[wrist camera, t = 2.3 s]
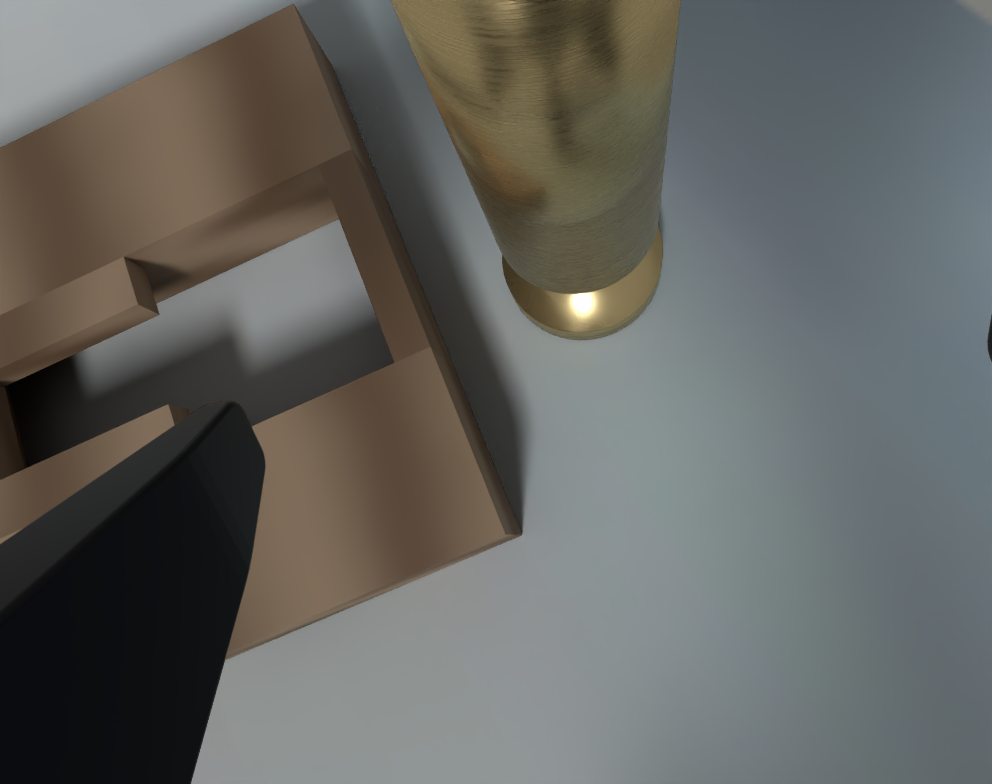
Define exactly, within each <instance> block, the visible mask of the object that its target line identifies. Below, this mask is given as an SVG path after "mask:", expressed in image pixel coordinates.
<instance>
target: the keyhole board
mask: <svg viewBox="0 0 992 784" xmlns="http://www.w3.org/2000/svg"><path fill="white" fill-rule="evenodd" d="M337 219H339V220H340V223H341V225H342V228H343V230H344V233H345V236H346V238H347V241H348V243H349V246H350V249H351V251H352V254H353V256H354V259H355V262H356V264H357V267H358V269H359V272H360V275H361V277H362V280H363V282H364V285H365V288H366V290H367V293H368V295H369V298H370V301H371V303H372V306H373V308H374V311H375V314H376V316H377V319H378V321H379V324H380V327H381V329H382V332H383V334H384V337H385V340H386V342H387V345H388V347H389V350H390V353H391V355H392V358H393V360H394V363H393V364H390V365H388V366H386V367H384V368H381V369H379V370H377V371H375V372H372V373H370V374H368V375H366V376H363V377H361V378H359V379H357V380H355V381H352V382H350V383H348V384H346V385H343V386H341V387H339V388H337V389H334V390H332V391H330V392H328V393H325V394H323V395H321V396H319V397H316V398H314V399H312V400H310V401H307V402H305V403H303V404H301V405H298V406H296V407H294V408H292V409H290V410H287V411H285V412H283V413H281V414H278V415H276V416H274V417H272V418H269V419H267V420H265V421H263V422H260V423H258V424H256V425H254V426H252V428H253V431H254V433H255V435H256V437H257V439H258V441H259V443H260V445H261V447H262V450H263V452H264V456H265V464H266V468H265V476H264V483H263V489H262V496H261V502H260V509H259V515H258V522H257V528H256V535H255V541H254V548H253V554H252V559H251V564H250V570H249V574H248V578H247V582H246V586H245V590H244V593H243V597H242V600H241V604H240V608H239V611H238V615H237V618H236V622H235V626H234V629H233V633H232V637H231V640H230V644H229V647H228V651H227V655H226V658H225V660H226V659H229V658H231V657H234V656H236V655H238V654H241V653H243V652H245V651H248V650H250V649H253V648H255V647H257V646H260V645H262V644H264V643H267V642H269V641H272V640H274V639H276V638H279V637H281V636H283V635H286V634H288V633H291V632H293V631H295V630H298V629H300V628H302V627H305V626H307V625H310V624H312V623H314V622H317V621H319V620H322V619H324V618H326V617H329V616H331V615H333V614H336V613H338V612H341V611H343V610H345V609H348V608H350V607H352V606H355V605H357V604H360V603H362V602H364V601H367V600H369V599H371V598H374V597H376V596H379V595H381V594H383V593H386V592H388V591H390V590H393V589H395V588H398V587H400V586H402V585H405V584H407V583H409V582H412V581H414V580H417V579H419V578H421V577H424V576H426V575H428V574H431V573H433V572H436V571H438V570H440V569H443V568H445V567H448V566H450V565H452V564H455V563H457V562H459V561H462V560H464V559H467V558H469V557H471V556H474V555H476V554H478V553H481V552H483V551H486V550H488V549H490V548H493V547H495V546H497V545H500V544H502V543H505V542H507V541H509V540H512V539H514V538H516V537H519V536H521V535H522V533H521V531H520V528H519V526H518V523H517V521H516V518H515V516H514V513H513V511H512V509H511V506H510V504H509V501H508V499H507V496H506V494H505V491H504V489H503V486H502V484H501V481H500V479H499V476H498V474H497V471H496V469H495V467H494V464H493V462H492V459H491V457H490V454H489V452H488V449H487V447H486V444H485V442H484V439H483V437H482V434H481V432H480V429H479V427H478V425H477V422H476V420H475V417H474V415H473V412H472V410H471V407H470V405H469V402H468V400H467V397H466V395H465V392H464V390H463V387H462V385H461V383H460V380H459V378H458V375H457V373H456V370H455V368H454V365H453V363H452V360H451V358H450V355H449V353H448V350H447V348H446V345H445V343H444V341H443V338H442V336H441V333H440V331H439V328H438V326H437V323H436V321H435V318H434V316H433V313H432V311H431V308H430V306H429V303H428V301H427V299H426V296H425V294H424V291H423V289H422V286H421V284H420V281H419V279H418V276H417V274H416V271H415V269H414V266H413V264H412V261H411V259H410V257H409V254H408V252H407V249H406V247H405V244H404V242H403V239H402V237H401V234H400V232H399V229H398V227H397V224H396V222H395V219H394V217H393V215H392V212H391V210H390V207H389V205H388V202H387V200H386V197H385V195H384V192H383V190H382V187H381V185H380V182H379V180H378V177H377V175H376V173H375V170H374V168H373V165H372V163H371V160H370V158H369V155H368V153H367V150H366V148H365V145H364V143H363V140H362V138H361V135H360V133H359V131H358V128H357V126H356V123H355V121H354V118H353V116H352V113H351V111H350V108H349V106H348V103H347V101H346V98H345V96H344V93H343V91H342V89H341V86H340V84H339V81H338V79H337V76H336V74H335V71H334V69H333V66H332V65H331V63H330V61H329V60H328V58H327V57H326V55H325V53H324V52H323V50H322V49H321V47H320V45H319V44H318V42H317V41H316V39H315V37H314V36H313V34H312V33H311V31H310V29H309V28H308V26H307V25H306V23H305V21H304V20H303V18H302V17H301V15H300V13H299V12H298V10H297V9H296V7H295V5H294V4H292V5H290V6H288V7H286V8H284V9H282V10H280V11H278V12H276V13H274V14H272V15H270V16H268V17H266V18H264V19H262V20H259V21H257V22H255V23H253V24H251V25H249V26H247V27H245V28H243V29H241V30H239V31H237V32H235V33H233V34H231V35H229V36H227V37H225V38H223V39H221V40H219V41H217V42H215V43H213V44H211V45H209V46H207V47H205V48H203V49H201V50H199V51H196V52H194V53H192V54H190V55H188V56H186V57H184V58H182V59H180V60H178V61H176V62H174V63H172V64H170V65H168V66H166V67H164V68H162V69H160V70H158V71H156V72H154V73H152V74H150V75H148V76H146V77H144V78H142V79H140V80H138V81H136V82H134V83H131V84H129V85H127V86H125V87H123V88H121V89H119V90H117V91H115V92H113V93H111V94H109V95H107V96H105V97H103V98H101V99H99V100H97V101H95V102H93V103H91V104H89V105H87V106H85V107H83V108H81V109H79V110H77V111H75V112H73V113H71V114H68V115H66V116H64V117H62V118H60V119H58V120H56V121H54V122H52V123H50V124H48V125H46V126H44V127H42V128H40V129H38V130H36V131H34V132H32V133H30V134H28V135H26V136H24V137H22V138H20V139H18V140H16V141H14V142H12V143H10V144H8V145H6V146H3V147H1V148H0V544H1V543H2V542H4V541H5V540H7V539H8V538H10V537H11V536H13V535H14V534H16V533H17V532H19V531H20V530H22V529H23V528H24V527H26V526H27V525H29V524H30V523H32V522H33V521H35V520H36V519H38V518H39V517H41V516H42V515H44V514H45V513H46V512H48V511H49V510H51V509H52V508H54V507H55V506H57V505H58V504H60V503H61V502H63V501H64V500H66V499H67V498H68V497H70V496H71V495H73V494H74V493H76V492H77V491H79V490H80V489H82V488H83V487H85V486H86V485H88V484H89V483H90V482H92V481H93V480H95V479H96V478H98V477H99V476H101V475H102V474H104V473H105V472H107V471H108V470H110V469H111V468H112V467H114V466H115V465H117V464H118V463H120V462H121V461H123V460H124V459H126V458H127V457H129V456H130V455H132V454H133V453H134V452H136V451H137V450H139V449H140V448H142V447H143V446H145V445H146V444H148V443H149V442H151V441H152V440H154V439H155V438H156V437H158V436H159V435H161V434H162V433H164V432H165V431H167V430H168V429H170V428H171V427H173V426H174V425H176V424H177V423H178V422H180V421H181V420H183V419H184V418H186V417H187V416H189V415H190V412H189V410H187V409H183V408H180V407H177V406H173V405H170V404H167V405H165V406H163V407H160V408H158V409H156V410H154V411H152V412H149V413H147V414H145V415H143V416H141V417H138V418H136V419H134V420H132V421H130V422H127V423H125V424H123V425H121V426H119V427H116V428H114V429H112V430H110V431H108V432H105V433H103V434H101V435H99V436H96V437H94V438H92V439H90V440H88V441H85V442H83V443H81V444H79V445H77V446H74V447H72V448H70V449H68V450H66V451H63V452H61V453H59V454H57V455H55V456H52V457H50V458H48V459H46V460H43V461H41V462H39V463H37V464H35V465H32V466H30V467H28V464H27V460H26V456H25V452H24V449H23V445H22V441H21V437H20V433H19V429H18V425H17V421H16V417H15V413H14V409H13V405H12V401H11V397H10V393H9V389H8V385H9V384H11V383H13V382H15V381H17V380H20V379H22V378H24V377H26V376H28V375H30V374H33V373H35V372H37V371H39V370H41V369H43V368H45V367H48V366H50V365H52V364H54V363H56V362H58V361H61V360H63V359H65V358H67V357H69V356H71V355H74V354H76V353H78V352H80V351H82V350H84V349H86V348H89V347H91V346H93V345H95V344H97V343H99V342H102V341H104V340H106V339H108V338H110V337H112V336H114V335H117V334H119V333H121V332H123V331H125V330H127V329H130V328H132V327H134V326H136V325H138V324H140V323H143V322H145V321H147V320H149V319H151V318H153V317H155V316H158V315H159V312H158V308H157V305H156V303H158V302H161V301H163V300H165V299H167V298H169V297H171V296H174V295H176V294H178V293H180V292H182V291H184V290H186V289H189V288H191V287H193V286H195V285H197V284H199V283H201V282H204V281H206V280H208V279H210V278H212V277H214V276H217V275H219V274H221V273H223V272H225V271H227V270H229V269H232V268H234V267H236V266H238V265H240V264H242V263H244V262H247V261H249V260H251V259H253V258H255V257H257V256H260V255H262V254H264V253H266V252H268V251H270V250H272V249H275V248H277V247H279V246H281V245H283V244H285V243H287V242H290V241H292V240H294V239H296V238H298V237H300V236H302V235H305V234H307V233H309V232H311V231H313V230H315V229H318V228H320V227H322V226H324V225H326V224H328V223H330V222H333V221H335V220H337Z"/></svg>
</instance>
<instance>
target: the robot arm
mask: <svg viewBox="0 0 992 784" xmlns="http://www.w3.org/2000/svg"><path fill="white" fill-rule="evenodd" d="M987 342H988V352H989V356H990V359H991V361H992V315H991V321H990V327H989V333H988V341H987ZM265 468H266V464H265V456H264V452H263V450H262V447H261V445H260V443H259V441H258V439H257V437H256V435H255V433H254V431H253V428H252V426H251V424H250V422H249V420H248V418H247V416H246V414H245V412H244V410H243V408H242V407H241V406H240V405H239V404H238V403H236V402H234V401H226V402H220V403H213V404H207V405H204V406H202V407H200V408H199V409H198V410H196V411H195V412H193V413H192V414H190V415H189V416H187V417H186V418H184V419H183V420H181V421H180V422H178V423H177V424H176V425H174V426H173V427H171V428H170V429H168V430H167V431H165V432H164V433H162V434H161V435H159V436H158V437H156V438H155V439H154V440H152V441H151V442H149V443H148V444H146V445H145V446H143V447H142V448H140V449H139V450H137V451H136V452H134V453H133V454H132V455H130V456H129V457H127V458H126V459H124V460H123V461H121V462H120V463H118V464H117V465H115V466H114V467H112V468H111V469H110V470H108V471H107V472H105V473H104V474H102V475H101V476H99V477H98V478H96V479H95V480H93V481H92V482H90V483H89V484H88V485H86V486H85V487H83V488H82V489H80V490H79V491H77V492H76V493H74V494H73V495H71V496H70V497H68V498H67V499H66V500H64V501H63V502H61V503H60V504H58V505H57V506H55V507H54V508H52V509H51V510H49V511H48V512H46V513H45V514H44V515H42V516H41V517H39V518H38V519H36V520H35V521H33V522H32V523H30V524H29V525H27V526H26V527H24V528H23V529H22V530H20V531H19V532H17V533H16V534H14V535H13V536H11V537H10V538H8V539H7V540H5V541H4V542H2V543H1V544H0V784H191V781H192V778H193V774H194V770H195V767H196V763H197V759H198V756H199V752H200V749H201V745H202V741H203V738H204V734H205V731H206V727H207V723H208V720H209V716H210V712H211V709H212V705H213V702H214V698H215V694H216V691H217V687H218V684H219V680H220V676H221V673H222V669H223V665H224V662H225V658H226V655H227V651H228V647H229V644H230V640H231V637H232V633H233V629H234V626H235V622H236V618H237V615H238V611H239V608H240V604H241V600H242V597H243V593H244V590H245V586H246V582H247V578H248V574H249V570H250V564H251V559H252V554H253V548H254V541H255V535H256V528H257V522H258V515H259V509H260V502H261V496H262V489H263V483H264V476H265Z"/></svg>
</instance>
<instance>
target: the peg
mask: <svg viewBox="0 0 992 784" xmlns="http://www.w3.org/2000/svg"><path fill="white" fill-rule="evenodd" d="M680 2H681V0H391V3H392V5H393V7H394V9H395V12H396V14H397V16H398V19H399V21H400V23H401V25H402V28H403V30H404V32H405V35H406V37H407V39H408V41H409V44H410V46H411V48H412V50H413V53H414V55H415V57H416V60H417V62H418V64H419V66H420V69H421V71H422V73H423V76H424V78H425V80H426V82H427V85H428V87H429V89H430V91H431V94H432V96H433V98H434V101H435V103H436V105H437V107H438V110H439V112H440V114H441V117H442V119H443V121H444V123H445V126H446V128H447V130H448V132H449V135H450V137H451V139H452V142H453V144H454V146H455V148H456V151H457V153H458V155H459V158H460V160H461V162H462V164H463V167H464V169H465V171H466V173H467V176H468V178H469V180H470V183H471V185H472V187H473V189H474V192H475V194H476V196H477V199H478V201H479V203H480V205H481V208H482V210H483V212H484V214H485V217H486V219H487V221H488V224H489V226H490V228H491V230H492V233H493V235H494V237H495V240H496V242H497V244H498V246H499V248H500V251H501V253H502V264H503V271H504V276H505V279H506V282H507V285H508V287H509V289H510V291H511V293H512V295H513V298H514V300H515V302H516V304H517V305H518V307H519V308H520V310H521V311H522V312H523V314H524V315H525V316H526V317H527V318H528V319H529V320H530V321H531V322H532V323H533V324H535V325H536V326H538V327H539V328H541V329H542V330H544V331H546V332H548V333H550V334H552V335H555V336H558V337H561V338H566V339H573V340H591V339H597V338H602V337H605V336H608V335H611V334H613V333H615V332H618V331H620V330H622V329H623V328H625V327H626V326H628V325H629V324H631V323H632V322H633V321H634V320H636V319H637V318H638V317H639V316H640V315H641V314H642V313H643V311H644V310H645V309H646V308H647V306H648V305H649V303H650V302H651V300H652V298H653V296H654V294H655V292H656V289H657V287H658V284H659V279H660V275H661V267H662V257H663V247H662V239H661V234H660V230H659V228H658V222H659V212H660V202H661V192H662V182H663V172H664V162H665V152H666V142H667V132H668V122H669V112H670V102H671V92H672V82H673V72H674V62H675V52H676V42H677V32H678V22H679V12H680Z"/></svg>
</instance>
